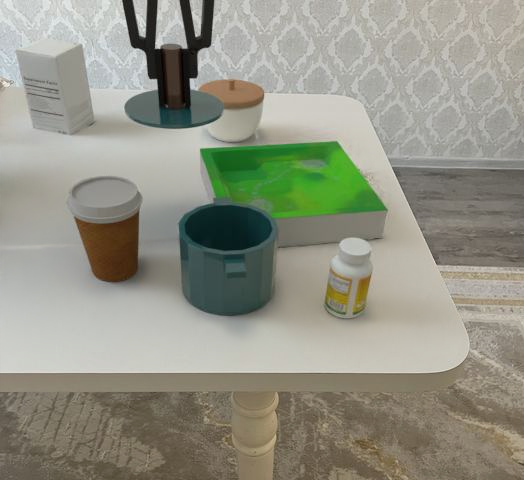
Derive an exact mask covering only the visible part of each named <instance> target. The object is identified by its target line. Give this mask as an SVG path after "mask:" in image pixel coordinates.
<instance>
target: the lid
mask: <svg viewBox="0 0 524 480" xmlns="http://www.w3.org/2000/svg"><path fill="white" fill-rule="evenodd" d="M159 49H160V51H161V59H162V73H163V87H164V101H165V107H159V99H158V89H153V90H148V91H144V92H141V93H138V94H136V95H133V96H131V97H130V98H129V99H128V100H126V102H125V103H124V106H123V107H124V108H123V109H124V114H125V116H126V117H128V119H130V120H131V121H133V122H135V123H137V124H139V125H143V126H146V127H150V128H156V129H165V130H166V129H167V130H183V129H193V128H198V127H203V126H204V125H207V124H210V123H212V122H214V121H216V120H218V119H219V118H220V117H221V116H222V115H223V113H224V104H223V102H222V101H221V100H220V99H218V98H217V97H215V96H213V95H211V94H208V93H205V92H201V91H198V90H195V89H190V95H191V106H185V97H184V76H183V56H182V49H183V46H182V45H181V44H178V43H164V44H161V45H160V46H159Z"/></svg>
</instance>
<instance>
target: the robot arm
mask: <svg viewBox="0 0 524 480" xmlns="http://www.w3.org/2000/svg"><path fill="white" fill-rule="evenodd" d="M178 2H179V7H180V13H181V18H182V25H183V29H184V36H185V41H186V48H184V47H183V48H182V56H183V76H184V97H185V106H191V95H190V90H191V79H193V80H194V79H198V76H199V61H198V60H199V59H198V56H199V52H200V51H201V50H203V49H209V48H210V47H211V46H212V41H213V27H214V13H215V0H202V2H201V3H202V5H201V18H200V19H201V20H200V35H198V36H196V32H195V25H194V19H193V18H194V17H193V11H192V6H191V0H178ZM121 3H122V8H123V12H124V18H125V23H126V27H127V32H128V38H129V44H130V46H131V48H132V49H135V50H137V49H138V50H140V51H143V52H144V54H145V57H146V59H145V60H146V71H147V77H148V80H156V85H157V90H158V99H159V107H165V101H164V87H163V73H162V59H161V51H160V48H156V43H157V42H156V39H157V25H158V24H157V23H158V5H159V0H146V14H145V15H146V16H145V33H144V34H145V36H142V35H140V31H139V30H140V29H139V25H138V19H137V15H136V8H135V3H134V0H121Z"/></svg>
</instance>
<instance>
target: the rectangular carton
mask: <svg viewBox="0 0 524 480" xmlns="http://www.w3.org/2000/svg"><path fill="white" fill-rule="evenodd" d="M15 55H16V60H17V63H18V69H19V72H20V78H21V81H22V85H23V89H24V94H25V99H26V103H27V107H28V110H29V116H30V120H31V124H32V125H31V126H32V128H33V129H35V130H36V129H37V130H41V131H45V132H51V133H56V134H61V135H66V136H72V135H74V134H76V133H77V132H79V131H80V130H83V128H84V127H87V126H91V124H93V123H95V114H94V108H93V102H92V95H91V91H90V90H91V89H90V83H89V78H88V71H87V66H86V59H85V54H84V47H83V43H81V42H73V41H68V40H67V41H66V40H61V39H55V38H50V37H42V38H40V39H37V40H35V41H33V42H30V43H28V44H26V45H24V46H22V47H19V48H17V49H15Z"/></svg>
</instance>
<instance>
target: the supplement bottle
mask: <svg viewBox="0 0 524 480" xmlns="http://www.w3.org/2000/svg"><path fill="white" fill-rule="evenodd" d="M371 254H372V245H371V243H369V242H368V241H367V240H363V239H360V238H346V239H344V240H342V241H341V242H339V245H338V249H337V254H335V255H334V256H333V257H332V259H331V260H330V264H329V265H330V266H329V273H328V279H327V286H326V292H325V299H324V306H325V308H326V310H327V312H329V314H331V315H332V316H334V317H336V318H340V319H353V318H357V317H359V316H360V315H362V313H363V312H364V310H365V307H366V303H367V299H368V293H369V290H370V289H369V288H370V285H371V280H372V275H373V269H374V263H373V261H372V260H371Z"/></svg>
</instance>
